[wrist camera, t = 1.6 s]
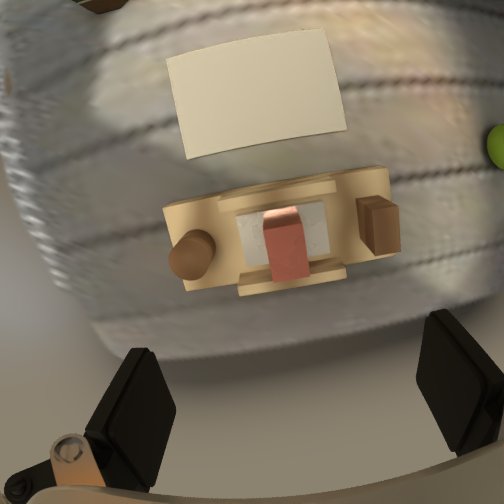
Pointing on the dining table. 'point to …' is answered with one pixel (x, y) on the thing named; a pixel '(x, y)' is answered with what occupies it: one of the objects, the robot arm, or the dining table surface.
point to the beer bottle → (101, 5)
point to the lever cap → (284, 238)
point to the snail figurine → (496, 145)
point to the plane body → (277, 194)
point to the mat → (256, 91)
